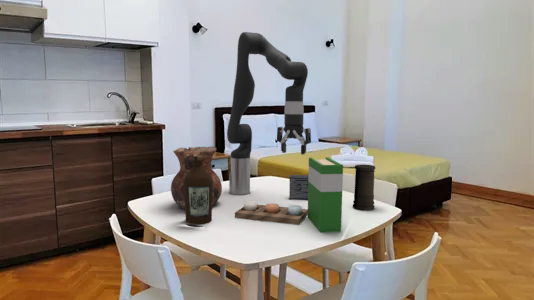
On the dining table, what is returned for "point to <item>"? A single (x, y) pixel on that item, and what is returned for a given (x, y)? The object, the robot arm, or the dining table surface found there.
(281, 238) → the dining table surface
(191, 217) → the olive oil
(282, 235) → the dining table surface
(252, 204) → the white button
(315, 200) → the hardback book
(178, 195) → the brown clay vase
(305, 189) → the small box
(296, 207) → the pale blue button
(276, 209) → the terracotta button
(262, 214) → the brown slotted panel
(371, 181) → the container
